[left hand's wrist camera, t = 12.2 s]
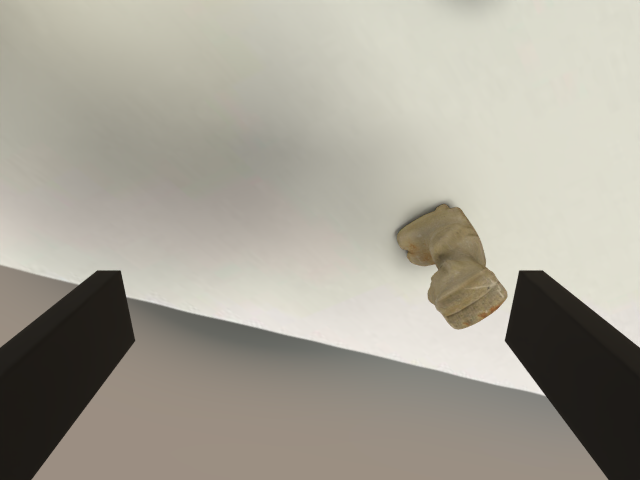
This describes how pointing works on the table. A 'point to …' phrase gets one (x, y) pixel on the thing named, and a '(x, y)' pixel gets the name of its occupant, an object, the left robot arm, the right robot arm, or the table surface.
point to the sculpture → (453, 266)
